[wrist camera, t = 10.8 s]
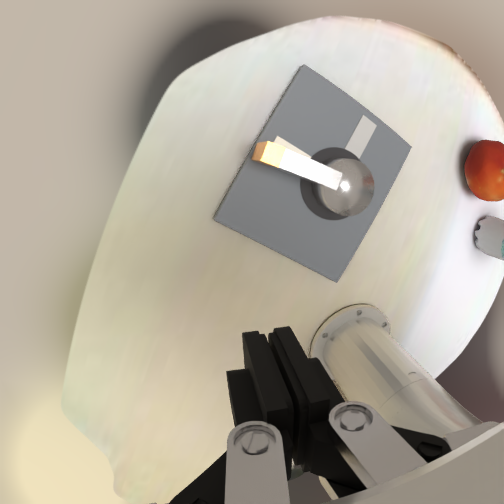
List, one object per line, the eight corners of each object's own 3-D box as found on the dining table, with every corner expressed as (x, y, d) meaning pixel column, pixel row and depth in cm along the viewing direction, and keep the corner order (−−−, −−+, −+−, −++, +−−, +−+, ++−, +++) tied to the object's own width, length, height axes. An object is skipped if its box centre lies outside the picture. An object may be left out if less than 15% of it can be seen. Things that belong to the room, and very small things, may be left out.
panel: (406, 146, 37) (412, 146, 35) (333, 279, 40) (337, 283, 39) (300, 66, 32) (304, 63, 30) (213, 217, 35) (214, 220, 34)
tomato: (470, 208, 42) (507, 219, 34) (447, 164, 39) (486, 170, 31) (495, 170, 41) (530, 177, 33) (473, 126, 38) (511, 128, 30)
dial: (365, 170, 35) (388, 173, 30) (348, 217, 36) (368, 226, 32) (263, 124, 32) (275, 120, 27) (244, 178, 33) (253, 182, 28)
